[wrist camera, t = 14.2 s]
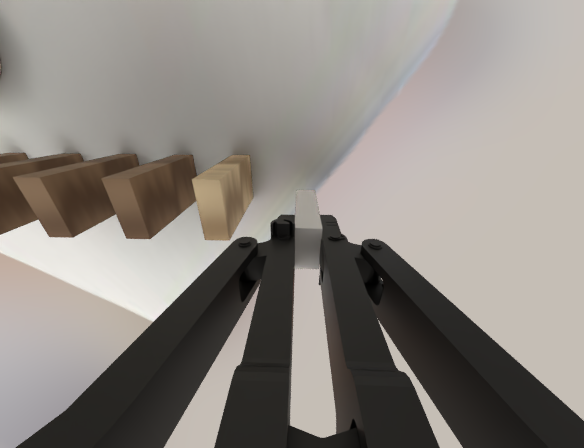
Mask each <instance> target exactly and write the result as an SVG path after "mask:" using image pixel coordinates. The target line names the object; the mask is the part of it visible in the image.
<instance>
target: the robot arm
mask: <svg viewBox="0 0 584 448" xmlns="http://www.w3.org/2000/svg"><path fill="white" fill-rule="evenodd" d="M319 266H320V276H319V285H321V290H322V299H323V307H324V316H325V323H326V333H327V341H328V349H329V358H330V366H331V374H332V383H333V391H334V400H335V408H336V434H335V435H332V436H329V437H326V438H320V437H317V436H314V435H312V434H309V433H307V432H304V431H302V430H299V429H297V428H295V427H292V426H290V399H291V367H292V336H293V304H294V270H295V269H319ZM381 278H382V280H383V281H382V280H381ZM260 281H261V282H260ZM259 284H260V287H259V291H258V295H257V299H256V304H255V308H254V312H253V316H252V321H251V325H250V329H249V333H248V338H247V342H246V346H245V350H244V355H243V359H242V362H241V364H240V365H239V366H237V367H236V369H235V371H234V375H233V378H232V381H231V385H230V389H229V393H228V397H227V400H226V405H225V409H224V412H223V416H222V420H221V424H220V428H219V432H218V435H217V439H216V443H215V447H214V448H440V447H439V445H438V443H437V440H436V438H435V436H434V433H433V431H432V428H431V426H430V424H429V421H428V419H427V417H426V414H425V412H424V409H423V407H422V405H421V402H420V400H419V397H418V395H417V393H416V390H415V388H414V386H413V384H412V382H411V380H410V378H409V377H408V376H407V375H406V373H404V372H401V371H399V370H398V369H397V368H396V366H395V364H394V362H393V359H392V356H391V354H390V351H389V349H388V346H387V343H386V340H385V338H384V335H383V332H382V330H381V327H380V324H379V322H378V320H379V321H380V323H381V324H382V326H383V327H384V329H385V330H386V332H387V333H388V335H389V336H390V338H391V339H392V341H393V343H394V344H395V346H396V347H397V349H398V350H399V351H400V353H401V355H402V356H403V358H404V359H405V361H406V362H407V364H408V365H409V367H410V368H411V370H412V371H413V373H414V374H415V376H416V377H417V379H418V380H419V382H420V383H421V385H422V386H423V388H424V389H425V391H426V392H427V394H428V395H429V397H430V398H431V400H432V401H433V403H434V404H435V406H436V407H437V409H438V410H439V412H440V413H441V415H442V417H443V418H444V420H445V421H446V423H447V424H448V426H449V427H450V428H451V430H452V432H453V433H454V435H455V436H456V438H457V439H458V440H459V442H460V444H461V445H462V447H463V448H584V421H583V420H582V419H581V418H580V417H579V416H578V415H577V414H576V413H574V412H573V411H572V410H571V409H570V408H569V407H568V406H567V405H565V404H564V403H563V402H562V401H561V400H560V399H559V398H558V397H557V396H555V395H554V394H553V393H552V392H551V391H550V390H549V389H548V388H546V387H545V386H544V385H543V384H542V383H541V382H540V381H539V380H537V379H536V378H535V377H534V376H533V375H532V374H531V373H530V372H528V370H526V369H525V368H524V367H523V366H522V365H521V364H520V363H518V362H517V361H516V360H515V359H514V358H513V357H512V356H511V355H510V354H508V353H507V352H506V351H505V350H504V349H503V348H502V347H501V346H499V345H498V344H497V343H496V342H495V341H494V340H493V339H492V338H490V337H489V336H488V335H487V334H486V333H485V332H484V331H483V330H482V329H481V328H479V327H478V326H477V325H476V324H475V323H474V322H473V321H471V319H469V318H468V317H467V316H466V315H465V314H464V313H463V312H462V311H460V310H459V309H458V308H457V307H456V306H455V305H454V304H453V303H452V302H450V301H449V300H448V299H447V298H446V297H445V296H444V295H443V294H442V293H440V292H439V291H438V290H437V289H436V288H435V287H434V286H433V285H431V284H430V283H429V282H428V281H427V280H426V279H425V278H424V277H422V276H421V275H420V274H419V273H418V272H417V271H416V270H415V269H414V268H412V267H411V266H410V265H409V264H408V263H407V262H406V261H404V259H402V258H401V257H400V256H399V255H398V254H397V253H396V252H395V251H393V250H392V249H391V248H390V247H389V246H388V245H387V244H385V243H384V242H382V241H379V240H377V239H376V240H375V239H367V240H364V241H363V242H362V245H357V244H353V243H350V242H348V240H347V238H346V237H345V236H344V235H343V234H341V232H340V229H339V226H338V223H337V220H336V218H335V217H333V216H332V215H320V214H319V209H318V204H317V199H316V194H315V190H296V207H295V215H280V216H279V217H278V219H276V220H274V221H272V222H271V240H269V241H267V242H263V243H257V240H256V239H255V238H252V237H241V238H239V239H236V240H235V241H234V242H233V243H232V244H231V245H230V246H229V247H228V248H227V249H226V250H225V251H224V252H223V253H222V254H221V255H220V256H219V257H218V258H217V259H216V260H215V261H214V262H213V263H212V264H211V265H210V266H209V267H208V268H207V269H206V270H205V271H204V272H203V273H202V274H201V275H200V276H199V277H198V278H197V279H196V280H195V281H194V282H193V283H192V284H191V285H190V286H189V287H188V288H187V289H186V290H185V291H184V292H183V293H182V294H181V295H180V296H179V297H178V298H177V299H176V300H175V301H174V302H173V303H172V304H171V305H170V306H169V307H168V308H167V309H166V310H165V311H164V312H163V313H162V314H161V315H160V316H159V317H158V318H157V319H156V320H155V321H154V322H153V323H152V324H151V325H150V326H149V327H148V328H147V329H146V330H145V331H144V332H143V333H142V334H141V335H140V336H139V337H138V338H137V339H136V340H135V341H134V342H133V343H132V344H131V345H130V346H129V347H128V348H127V349H126V350H125V351H124V352H123V353H122V354H121V355H120V356H119V357H118V358H117V359H116V360H115V361H114V362H113V363H112V364H111V365H110V366H109V368H107V370H105V371H104V372H103V373H102V374H101V375H100V376H99V377H98V378H97V379H96V380H95V381H94V382H93V383H92V384H91V385H90V386H89V387H88V388H87V389H86V391H84V392H83V393H82V395H81V396H79V397H78V399H76V400H75V402H74V403H73V404H72V405H71V406H70V407H69V408H68V409H67V410H66V411H64V412H63V413H62V414H60V415H59V416H58V417H56V418H55V419H54V420H52V421H51V422H49V423H48V424H47V425H46V426H44V427H43V428H41V429H40V430H39V431H37V432H36V433H35V434H33V435H32V436H31V437H29V438H28V439H27V440H25V441H24V442H23V443H21V444H20V445H18V446H17V447H16V448H164V446H165V444H166V442H167V441H168V439H169V437H170V436H171V434H172V432H173V431H174V429H175V427H176V426H177V424H178V422H179V420H180V419H181V417H182V415H183V414H184V412H185V410H186V409H187V407H188V405H189V403H190V402H191V400H192V398H193V397H194V395H195V393H196V391H197V390H198V388H199V386H200V385H201V383H202V381H203V380H204V378H205V376H206V374H207V373H208V371H209V369H210V367H211V366H212V364H213V362H214V361H215V359H216V357H217V356H218V354H219V352H220V351H221V349H222V347H223V345H224V344H225V342H226V340H227V339H228V337H229V335H230V333H231V332H232V330H233V328H234V327H235V325H236V323H237V322H238V320H239V318H240V316H241V315H242V313H243V311H244V310H245V308H246V306H247V305H248V303H249V301H250V299H251V298H252V296H253V294H254V293H255V291H256V289H257V287H258V286H259ZM377 318H378V319H377Z"/></svg>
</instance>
